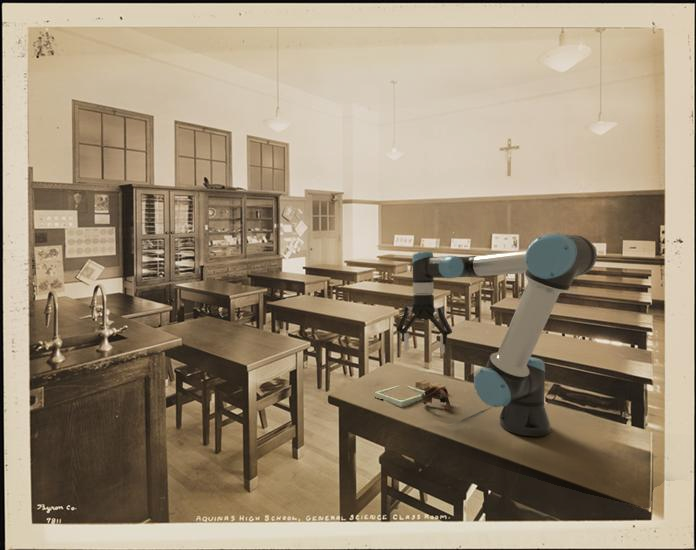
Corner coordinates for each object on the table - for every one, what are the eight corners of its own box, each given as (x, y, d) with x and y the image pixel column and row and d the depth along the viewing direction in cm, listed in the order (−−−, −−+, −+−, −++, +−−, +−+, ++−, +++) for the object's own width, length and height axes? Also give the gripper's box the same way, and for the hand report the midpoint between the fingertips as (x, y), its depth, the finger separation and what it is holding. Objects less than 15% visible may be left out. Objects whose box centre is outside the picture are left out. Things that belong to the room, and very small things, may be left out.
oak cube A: (445, 395, 158) (445, 385, 158) (439, 397, 156) (439, 387, 156) (437, 393, 162) (437, 383, 161) (430, 395, 159) (431, 385, 159)
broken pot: (447, 415, 138) (435, 393, 139) (425, 421, 144) (414, 400, 144) (459, 398, 148) (448, 378, 148) (438, 404, 153) (427, 384, 154)
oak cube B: (429, 391, 163) (429, 381, 163) (423, 393, 161) (423, 383, 160) (422, 389, 166) (422, 379, 166) (415, 391, 164) (415, 381, 164)
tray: (430, 397, 156) (430, 392, 155) (401, 407, 145) (401, 402, 145) (402, 389, 166) (402, 384, 166) (374, 397, 156) (374, 392, 156)
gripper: (459, 293, 147) (460, 352, 147) (395, 293, 159) (396, 347, 159) (455, 295, 140) (456, 356, 141) (387, 294, 152) (388, 351, 152)
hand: (424, 352), depth 150 cm, fingers open, 13 cm apart
